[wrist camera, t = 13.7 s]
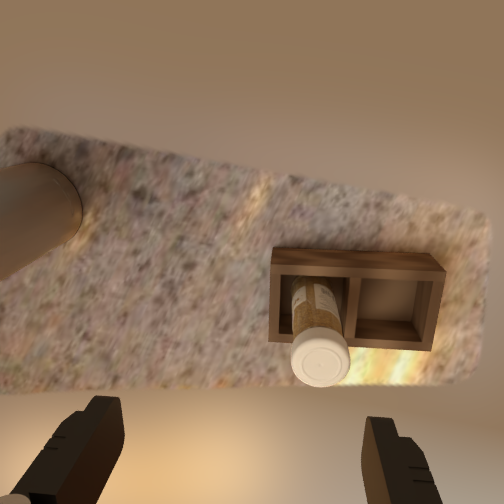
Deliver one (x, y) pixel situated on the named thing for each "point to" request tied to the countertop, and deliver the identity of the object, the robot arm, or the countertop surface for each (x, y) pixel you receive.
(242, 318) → the countertop surface
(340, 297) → the spice caddy
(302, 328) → the sprinkles bottle
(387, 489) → the robot arm
